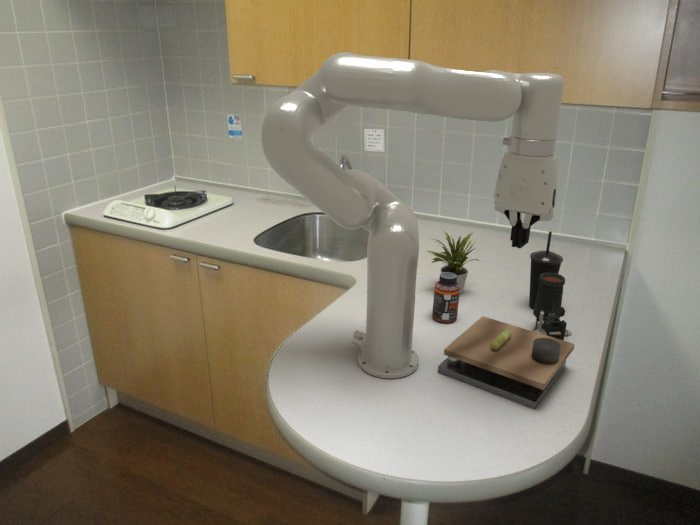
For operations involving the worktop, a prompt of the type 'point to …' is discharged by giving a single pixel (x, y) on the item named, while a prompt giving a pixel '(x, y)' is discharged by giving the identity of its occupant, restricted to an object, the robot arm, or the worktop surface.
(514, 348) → the levelling plate
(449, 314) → the supplement bottle
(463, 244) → the house plant
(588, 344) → the worktop surface
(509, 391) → the dark board base
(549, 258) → the drinking cup
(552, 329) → the scope
